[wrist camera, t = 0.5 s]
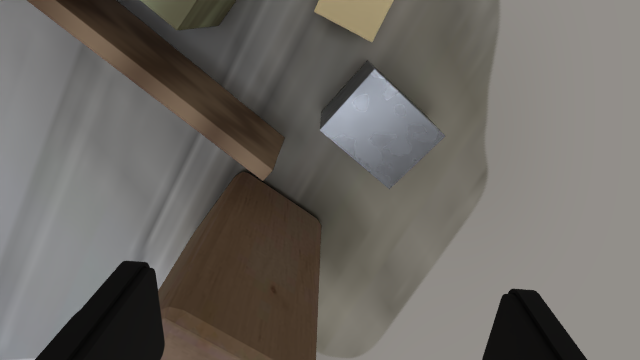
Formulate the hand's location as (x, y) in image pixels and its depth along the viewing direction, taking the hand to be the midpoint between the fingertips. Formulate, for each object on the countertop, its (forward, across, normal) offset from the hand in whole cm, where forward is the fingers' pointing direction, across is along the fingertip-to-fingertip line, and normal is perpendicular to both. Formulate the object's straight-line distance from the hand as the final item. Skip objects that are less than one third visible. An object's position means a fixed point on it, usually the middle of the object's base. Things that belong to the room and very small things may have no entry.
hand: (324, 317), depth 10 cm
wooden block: (+26, +7, +13) cm, 30 cm away
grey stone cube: (+26, -4, 0) cm, 27 cm away
